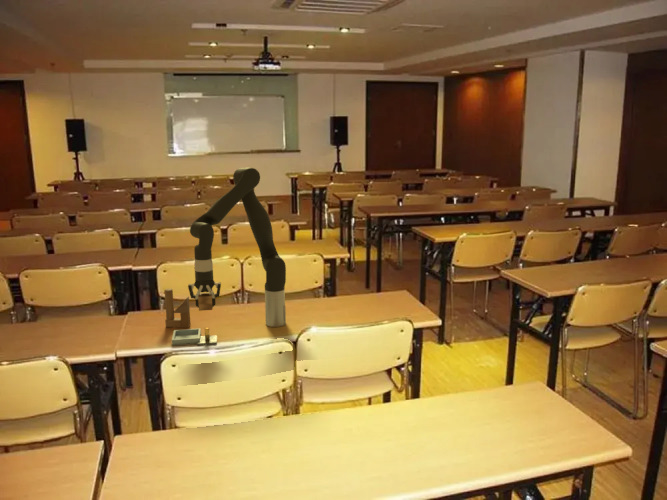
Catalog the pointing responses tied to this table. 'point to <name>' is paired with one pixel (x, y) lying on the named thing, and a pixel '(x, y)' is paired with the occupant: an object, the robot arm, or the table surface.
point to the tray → (186, 336)
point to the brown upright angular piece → (176, 311)
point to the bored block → (205, 301)
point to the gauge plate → (209, 342)
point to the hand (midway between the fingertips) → (205, 306)
